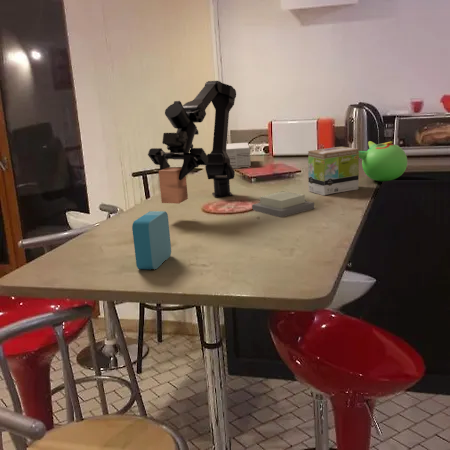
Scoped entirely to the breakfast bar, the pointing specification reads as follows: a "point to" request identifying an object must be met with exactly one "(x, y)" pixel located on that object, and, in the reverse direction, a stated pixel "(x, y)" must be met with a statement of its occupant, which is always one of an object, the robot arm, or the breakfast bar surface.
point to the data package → (151, 239)
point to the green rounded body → (383, 161)
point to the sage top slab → (282, 199)
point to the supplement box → (239, 154)
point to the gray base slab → (284, 211)
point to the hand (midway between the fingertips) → (170, 179)
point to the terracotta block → (172, 185)
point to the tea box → (333, 170)
